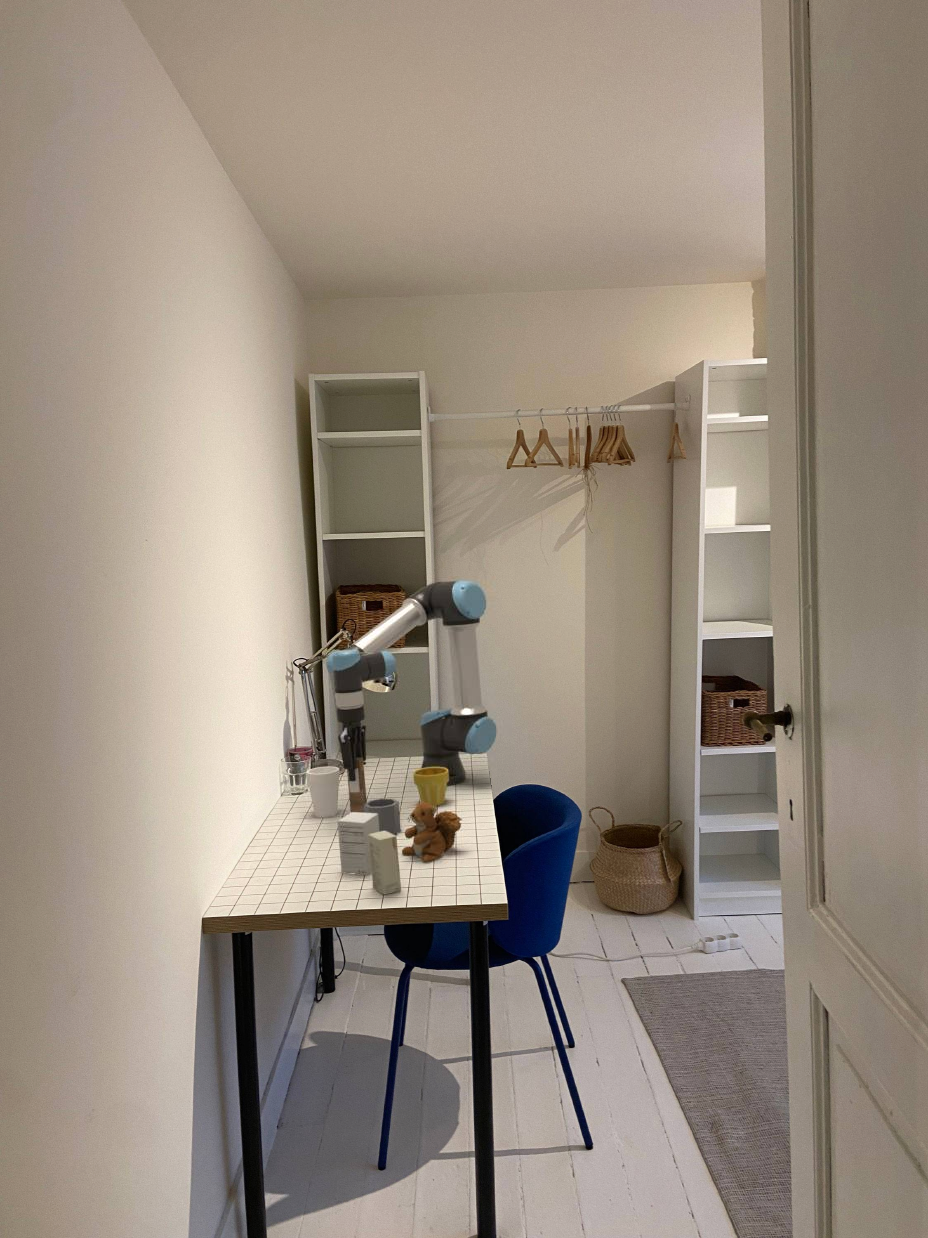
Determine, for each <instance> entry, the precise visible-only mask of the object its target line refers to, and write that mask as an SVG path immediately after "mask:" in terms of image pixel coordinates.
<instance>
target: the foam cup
mask: <svg viewBox="0 0 928 1238" xmlns="http://www.w3.org/2000/svg"><path fill="white" fill-rule="evenodd" d="M340 772H341V771H340V768H339V767H337V766H318V767H314V768H311V769H308V770H306V781H307V783H308V787H309V793H310V797H311V801H312V807H313V810H314V811H313V812H314V815H315V817H317V818H320V819H323V818H330V817H329V816H332V817H334V816H336V815H337V814H338V807H339V806H338V805H339V804H338V803H339V786H340V777H341V776H340V774H341V773H340Z"/></svg>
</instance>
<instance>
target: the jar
mask: <svg viewBox="0 0 928 1238" xmlns="http://www.w3.org/2000/svg"><path fill="white" fill-rule="evenodd" d="M364 813H377V814H378V819H379V832H381V831H387V832H390V833H392V834H394V835H395V834H396V835H398V834H397V833H398V832H399V833H400V832H401V830H402V829H401V828H402V827H401V816H400V814H401V813H400V801H399V800H397V799H395V798H385V797H384V798H383V797H382V798H376V799H371V800H368V801H367V803H365V804H364ZM396 835H395V836H396Z"/></svg>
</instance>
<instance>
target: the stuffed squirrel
mask: <svg viewBox="0 0 928 1238" xmlns="http://www.w3.org/2000/svg"><path fill="white" fill-rule="evenodd" d="M438 808H439V807H438V806H432V805H430V804H428V803H425V802H423V801H421V800H420V802H419V803H418V804H417V805H416V806H415V808H414V810H413V809H412V810H413V811H411V813H410V815H409V816H408V817H407V820H408V823H410V821H412V822H413V823H414V824H415V825H413V826H411V827H409V828H406V829H405V831H404V836H405V838H406V839H412V838H413V839H412V840H413V841H412V842H413V843H412V845H411V846H405V847H403V848H402V849H401V854H402V855H404V856H415V855H416V856H417V857H419V858H421V859H422V861H423V863H425V864H427V863H431V862H433V861H436V860H439V859H440V858H441V857H442V856H443V854H444V853H445V852H448V851H449V850H450V849H452V848H453V846H454V845H455V842H456V841H455V840H456V839H455V838H456V833H457V832H458V831H459V830H461V827H462V823H461V822H460V821H463V818H462V817H460V816H458V814H457V813H455V812H452V811H448V810H444V811H442V812H439V813H437V812H438V810H439V809H438ZM435 814H436V815H435Z"/></svg>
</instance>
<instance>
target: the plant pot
mask: <svg viewBox="0 0 928 1238" xmlns="http://www.w3.org/2000/svg"><path fill="white" fill-rule="evenodd" d="M412 774H413V775H412V776H413V782H414V784H415V786H416V788H417V791H418V795H419V797H420V801H423V802H425V803H428V804H430V805H432V806H433V807H435V806H437V807H438V806H441V805H443V804H444V803H445V799H446V793H447V786H448V785H447V782H448V781H449V771H448V769H447V768H444V767H427V768H421V767H420V768H418V769H416V770H414V771H413V773H412Z"/></svg>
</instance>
